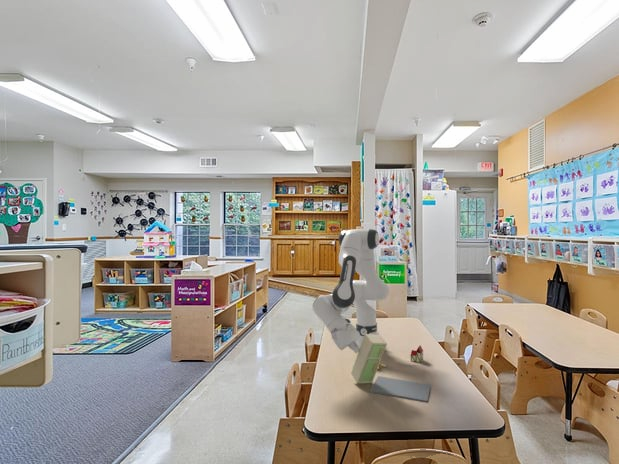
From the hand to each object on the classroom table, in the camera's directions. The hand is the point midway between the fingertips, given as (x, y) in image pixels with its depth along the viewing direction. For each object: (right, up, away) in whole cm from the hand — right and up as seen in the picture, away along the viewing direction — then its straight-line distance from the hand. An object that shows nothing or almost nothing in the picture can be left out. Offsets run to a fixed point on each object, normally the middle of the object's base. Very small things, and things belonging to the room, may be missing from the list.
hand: (358, 351), depth 157 cm
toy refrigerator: (+2, -13, +2) cm, 13 cm away
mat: (+18, -14, -5) cm, 23 cm away
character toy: (+11, -15, +17) cm, 25 cm away
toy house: (+33, -15, +27) cm, 45 cm away
